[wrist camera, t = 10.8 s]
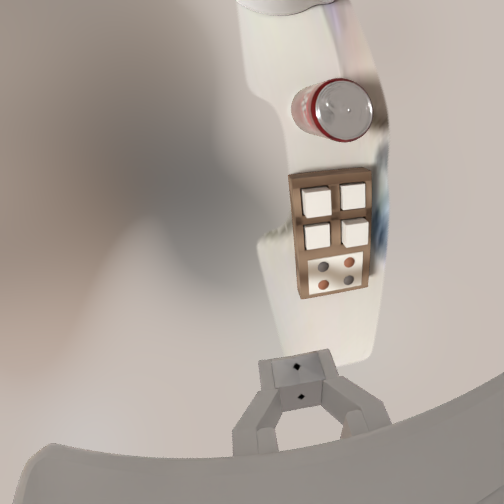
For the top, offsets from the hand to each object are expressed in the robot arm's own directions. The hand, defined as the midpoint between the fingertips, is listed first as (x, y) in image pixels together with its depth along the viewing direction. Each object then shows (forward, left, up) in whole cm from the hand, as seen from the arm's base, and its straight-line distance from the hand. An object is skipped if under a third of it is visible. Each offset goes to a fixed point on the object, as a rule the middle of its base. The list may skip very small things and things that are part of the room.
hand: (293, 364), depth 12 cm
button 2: (-1, +10, -32) cm, 33 cm away
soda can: (-13, +6, -34) cm, 37 cm away
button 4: (-3, +15, -33) cm, 36 cm away
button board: (+4, +15, -34) cm, 37 cm away
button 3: (+2, +17, -32) cm, 36 cm away
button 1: (+4, +12, -33) cm, 35 cm away
